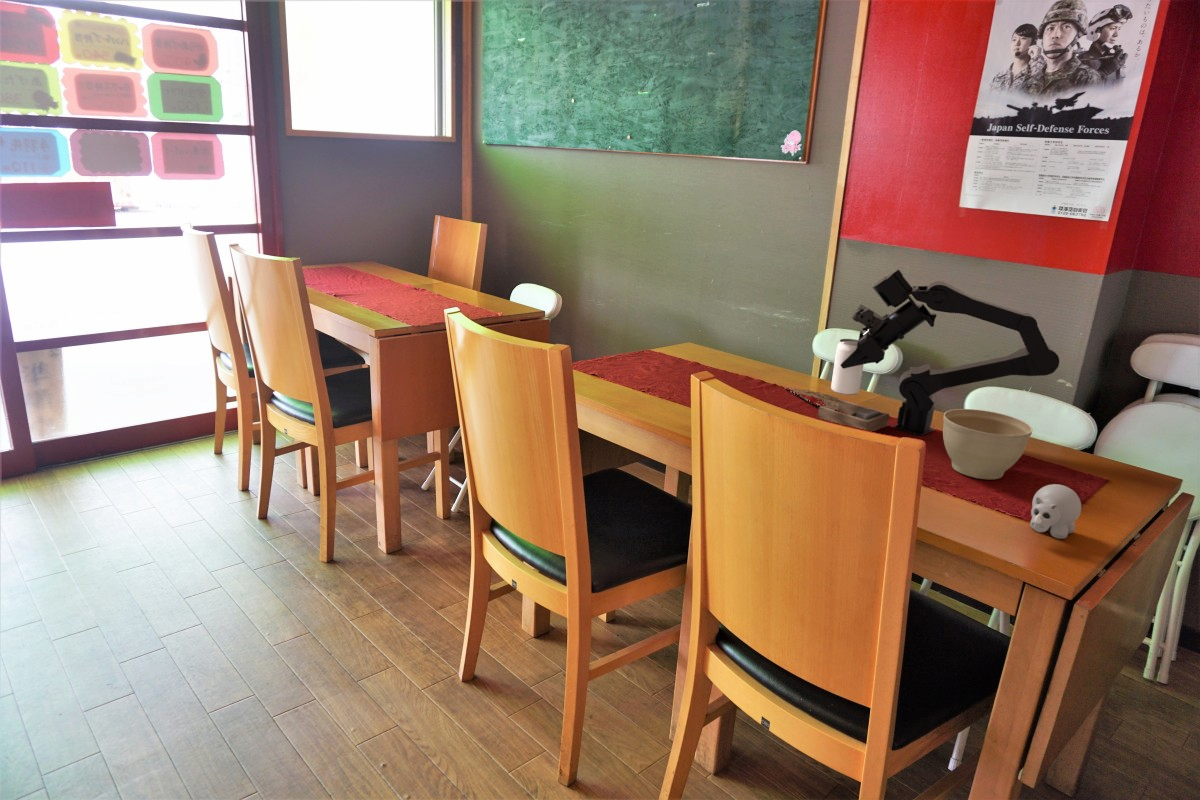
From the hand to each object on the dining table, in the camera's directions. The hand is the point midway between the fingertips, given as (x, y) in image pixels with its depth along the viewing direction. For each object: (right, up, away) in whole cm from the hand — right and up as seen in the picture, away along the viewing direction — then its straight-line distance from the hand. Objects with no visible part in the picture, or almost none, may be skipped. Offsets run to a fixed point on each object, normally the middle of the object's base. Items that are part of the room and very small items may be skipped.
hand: (842, 363), depth 184 cm
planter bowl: (+20, -23, -24) cm, 39 cm away
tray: (+3, -14, +1) cm, 14 cm away
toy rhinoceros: (+19, -32, -50) cm, 62 cm away
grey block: (+5, -15, -1) cm, 16 cm away
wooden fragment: (0, -10, +15) cm, 18 cm away
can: (+1, -7, +2) cm, 7 cm away
